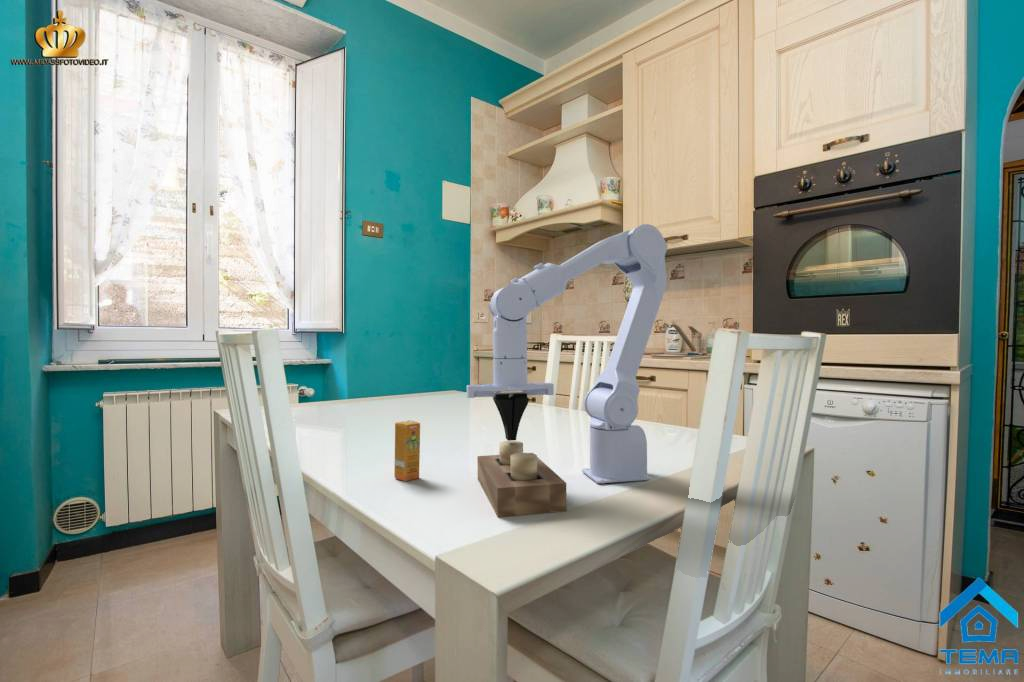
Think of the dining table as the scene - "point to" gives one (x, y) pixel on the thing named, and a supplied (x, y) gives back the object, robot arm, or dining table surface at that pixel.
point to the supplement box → (407, 450)
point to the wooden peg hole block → (521, 489)
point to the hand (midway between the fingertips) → (510, 439)
